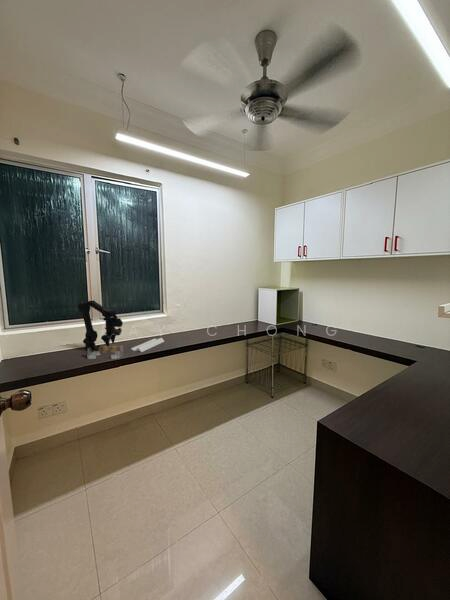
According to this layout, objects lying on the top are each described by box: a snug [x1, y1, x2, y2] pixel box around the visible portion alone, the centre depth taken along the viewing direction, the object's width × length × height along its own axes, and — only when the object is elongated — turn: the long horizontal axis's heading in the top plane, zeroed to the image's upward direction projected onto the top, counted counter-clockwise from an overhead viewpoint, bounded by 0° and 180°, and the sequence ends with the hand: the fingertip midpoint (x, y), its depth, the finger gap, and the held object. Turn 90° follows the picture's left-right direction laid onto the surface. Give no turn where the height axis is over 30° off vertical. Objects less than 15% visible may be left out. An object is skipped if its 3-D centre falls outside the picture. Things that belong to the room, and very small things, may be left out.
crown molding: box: [129, 337, 165, 353], centre depth 216 cm, size 31×12×4 cm, turn 158°
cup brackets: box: [87, 346, 124, 360], centre depth 189 cm, size 25×8×7 cm, turn 92°
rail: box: [98, 345, 124, 354], centre depth 199 cm, size 18×4×5 cm, turn 92°
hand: (110, 344), depth 198 cm, fingers open, 9 cm apart
